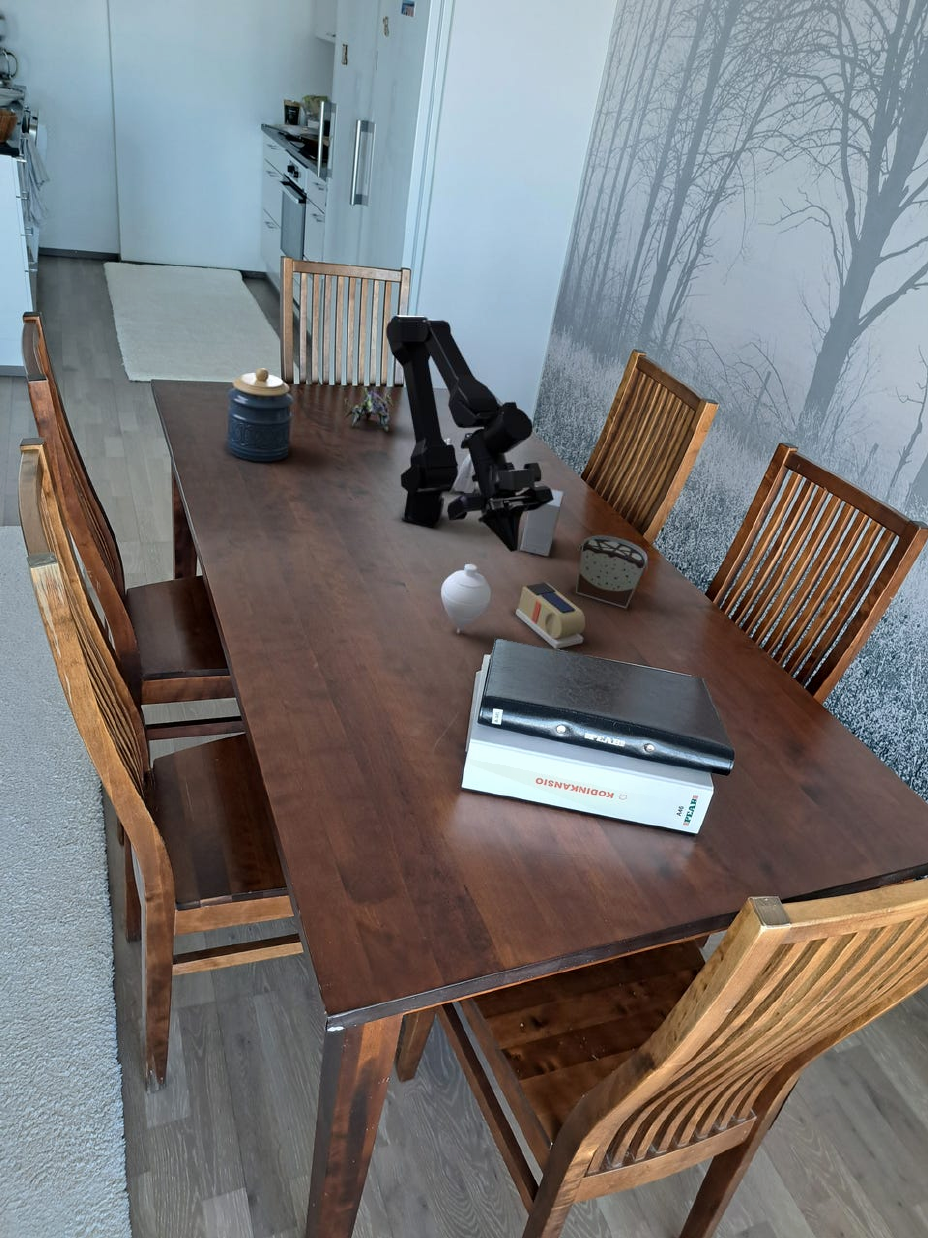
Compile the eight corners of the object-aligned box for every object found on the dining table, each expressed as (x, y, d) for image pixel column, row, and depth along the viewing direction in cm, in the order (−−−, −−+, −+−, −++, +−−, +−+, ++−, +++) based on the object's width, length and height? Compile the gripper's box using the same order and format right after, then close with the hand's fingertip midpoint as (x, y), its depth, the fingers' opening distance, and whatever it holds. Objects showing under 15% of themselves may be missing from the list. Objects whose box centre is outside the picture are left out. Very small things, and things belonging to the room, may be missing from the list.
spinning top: (447, 649, 137) (460, 580, 131) (425, 623, 143) (437, 556, 137) (490, 643, 141) (505, 576, 135) (468, 617, 146) (481, 552, 140)
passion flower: (381, 451, 217) (400, 424, 207) (337, 441, 212) (355, 412, 202) (380, 413, 221) (399, 384, 212) (338, 402, 217) (355, 372, 207)
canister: (301, 454, 193) (308, 372, 184) (259, 468, 183) (263, 382, 174) (256, 434, 198) (260, 354, 189) (212, 447, 188) (215, 363, 179)
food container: (640, 596, 163) (655, 547, 158) (634, 611, 158) (650, 561, 153) (574, 576, 165) (587, 527, 160) (567, 590, 160) (580, 540, 155)
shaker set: (422, 492, 187) (430, 441, 181) (418, 483, 190) (426, 433, 184) (478, 495, 190) (487, 445, 185) (473, 487, 194) (482, 438, 188)
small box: (548, 557, 170) (560, 507, 165) (519, 550, 171) (530, 500, 165) (552, 540, 177) (564, 491, 172) (525, 534, 178) (536, 484, 172)
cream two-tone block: (521, 585, 147) (563, 619, 140) (548, 580, 150) (590, 614, 143) (515, 614, 150) (555, 649, 143) (541, 608, 153) (582, 643, 146)
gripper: (468, 448, 142) (494, 543, 140) (559, 442, 152) (585, 530, 150) (435, 474, 151) (459, 563, 150) (523, 466, 161) (546, 549, 160)
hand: (514, 550), depth 152 cm, fingers closed
